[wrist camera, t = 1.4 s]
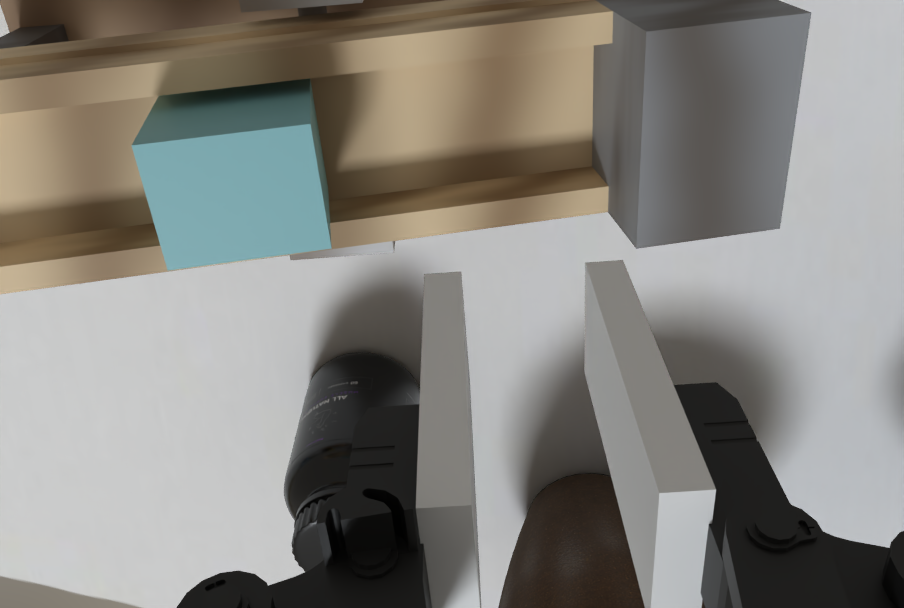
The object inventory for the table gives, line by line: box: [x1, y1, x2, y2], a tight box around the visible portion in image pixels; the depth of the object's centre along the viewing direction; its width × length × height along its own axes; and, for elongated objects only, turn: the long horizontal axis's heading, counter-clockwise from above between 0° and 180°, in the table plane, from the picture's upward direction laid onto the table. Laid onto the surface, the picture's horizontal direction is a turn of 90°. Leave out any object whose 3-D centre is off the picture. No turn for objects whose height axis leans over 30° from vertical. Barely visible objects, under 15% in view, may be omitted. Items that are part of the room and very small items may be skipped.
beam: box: [0, 0, 811, 294], centre depth 27 cm, size 29×7×7 cm, turn 95°
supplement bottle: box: [284, 353, 420, 572], centre depth 44 cm, size 7×7×12 cm
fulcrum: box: [0, 0, 445, 260], centre depth 34 cm, size 30×12×11 cm, turn 94°
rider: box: [131, 78, 332, 271], centre depth 26 cm, size 5×4×5 cm
